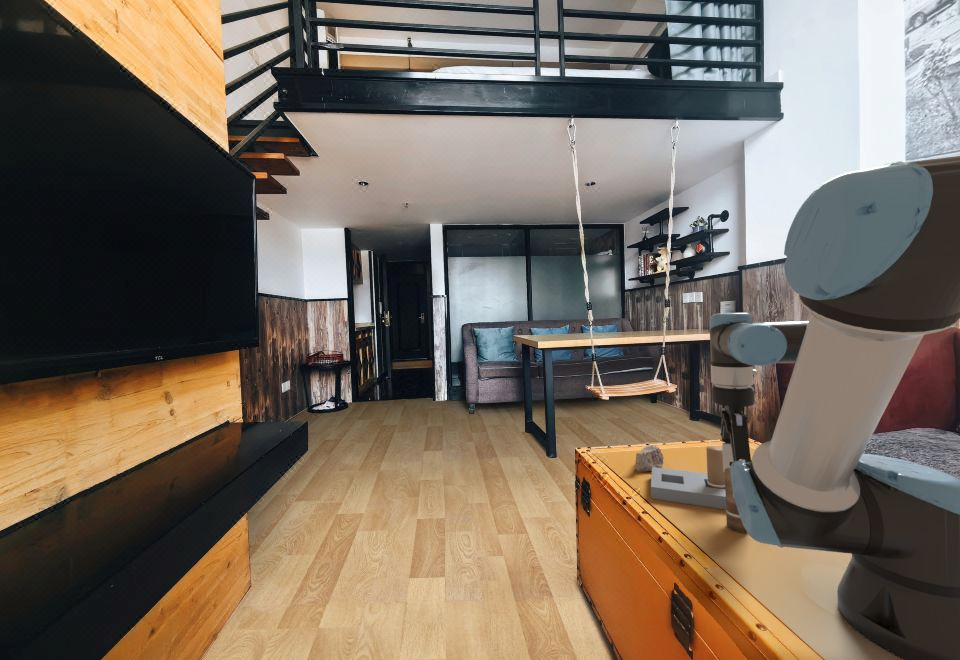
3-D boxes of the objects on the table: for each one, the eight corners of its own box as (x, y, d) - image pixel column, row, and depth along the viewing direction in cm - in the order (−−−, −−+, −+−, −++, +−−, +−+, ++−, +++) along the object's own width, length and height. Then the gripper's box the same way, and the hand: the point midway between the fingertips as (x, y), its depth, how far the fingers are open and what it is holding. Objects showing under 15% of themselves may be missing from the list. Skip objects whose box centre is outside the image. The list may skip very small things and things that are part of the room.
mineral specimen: (658, 477, 107) (658, 456, 107) (632, 472, 111) (631, 452, 111) (667, 463, 117) (666, 443, 117) (643, 459, 121) (642, 440, 121)
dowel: (752, 534, 77) (749, 476, 77) (727, 530, 79) (725, 473, 78) (747, 524, 80) (745, 469, 80) (724, 521, 82) (722, 466, 82)
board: (747, 512, 85) (745, 460, 85) (651, 498, 94) (649, 451, 94) (736, 487, 98) (734, 442, 98) (652, 477, 107) (650, 435, 107)
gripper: (769, 398, 67) (773, 515, 67) (742, 376, 89) (745, 464, 89) (719, 396, 70) (723, 508, 70) (705, 376, 92) (708, 461, 93)
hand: (735, 484), depth 80 cm, fingers open, 13 cm apart
